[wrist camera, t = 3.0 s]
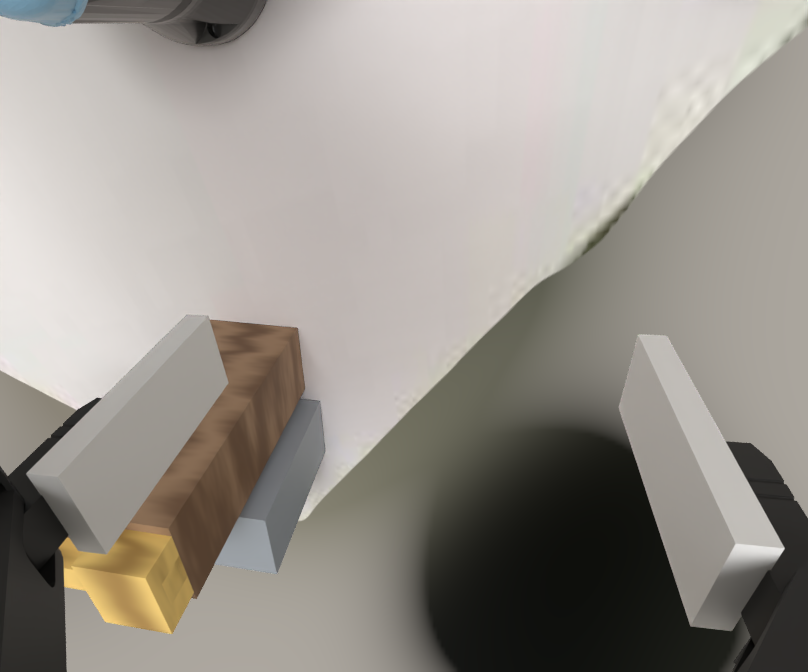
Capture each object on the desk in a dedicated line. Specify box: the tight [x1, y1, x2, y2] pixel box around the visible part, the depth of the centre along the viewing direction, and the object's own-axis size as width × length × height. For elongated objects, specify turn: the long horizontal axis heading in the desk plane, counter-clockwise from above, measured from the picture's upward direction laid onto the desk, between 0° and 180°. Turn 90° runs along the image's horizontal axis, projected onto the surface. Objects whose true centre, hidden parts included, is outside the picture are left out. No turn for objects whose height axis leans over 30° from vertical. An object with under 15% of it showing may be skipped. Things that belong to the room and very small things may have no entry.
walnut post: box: [67, 320, 305, 599], centre depth 54 cm, size 12×10×30 cm
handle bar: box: [59, 529, 194, 634], centre depth 41 cm, size 24×8×4 cm, turn 89°
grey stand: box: [215, 399, 325, 574], centre depth 64 cm, size 14×10×20 cm
